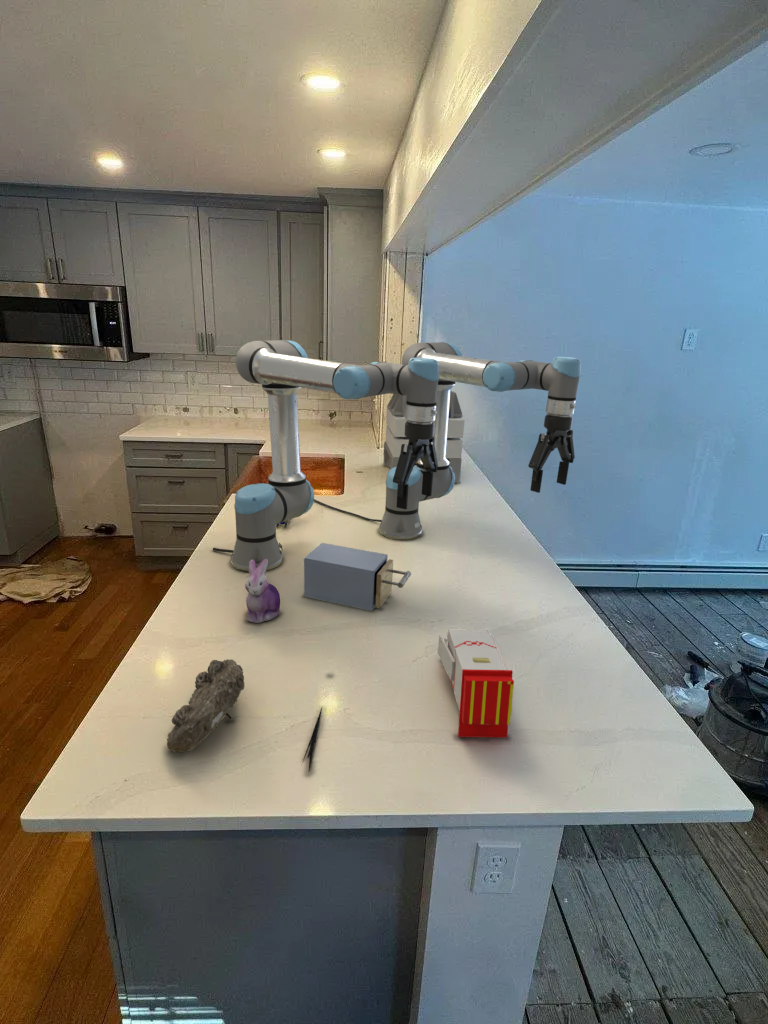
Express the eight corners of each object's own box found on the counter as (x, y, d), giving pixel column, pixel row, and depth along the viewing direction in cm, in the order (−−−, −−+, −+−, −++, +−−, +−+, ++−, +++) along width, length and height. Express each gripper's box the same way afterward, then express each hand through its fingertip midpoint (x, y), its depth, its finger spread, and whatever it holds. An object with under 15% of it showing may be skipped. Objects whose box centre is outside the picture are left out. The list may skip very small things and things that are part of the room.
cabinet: (385, 592, 159) (387, 554, 155) (372, 610, 148) (373, 571, 145) (321, 579, 164) (321, 542, 160) (304, 596, 154) (303, 557, 150)
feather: (331, 679, 122) (336, 673, 122) (307, 777, 96) (313, 769, 95) (324, 675, 122) (329, 669, 121) (298, 772, 95) (304, 764, 95)
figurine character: (290, 533, 199) (295, 514, 212) (289, 514, 196) (295, 496, 209) (271, 533, 199) (277, 513, 212) (270, 513, 195) (277, 495, 209)
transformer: (382, 463, 289) (386, 382, 275) (445, 464, 293) (451, 384, 279) (390, 482, 257) (394, 392, 243) (460, 483, 261) (468, 394, 247)
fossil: (192, 660, 117) (244, 628, 112) (224, 691, 120) (276, 661, 115) (142, 746, 98) (202, 712, 93) (182, 779, 101) (242, 748, 96)
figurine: (250, 628, 138) (248, 572, 133) (239, 608, 146) (237, 555, 141) (287, 620, 142) (286, 565, 137) (275, 601, 150) (274, 550, 145)
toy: (488, 613, 130) (523, 677, 101) (484, 667, 133) (517, 744, 104) (435, 612, 130) (455, 676, 101) (432, 666, 133) (451, 743, 103)
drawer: (410, 594, 156) (412, 563, 152) (399, 612, 146) (401, 579, 143) (331, 579, 162) (331, 548, 159) (315, 594, 153) (316, 562, 150)
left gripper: (408, 431, 131) (403, 517, 138) (454, 417, 151) (447, 492, 158) (381, 426, 134) (377, 510, 142) (429, 413, 155) (424, 487, 162)
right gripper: (545, 421, 147) (534, 498, 154) (594, 412, 163) (582, 483, 170) (521, 416, 152) (512, 491, 160) (571, 408, 168) (560, 477, 176)
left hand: (414, 501), depth 150 cm, fingers open, 13 cm apart
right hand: (548, 487), depth 165 cm, fingers open, 13 cm apart
